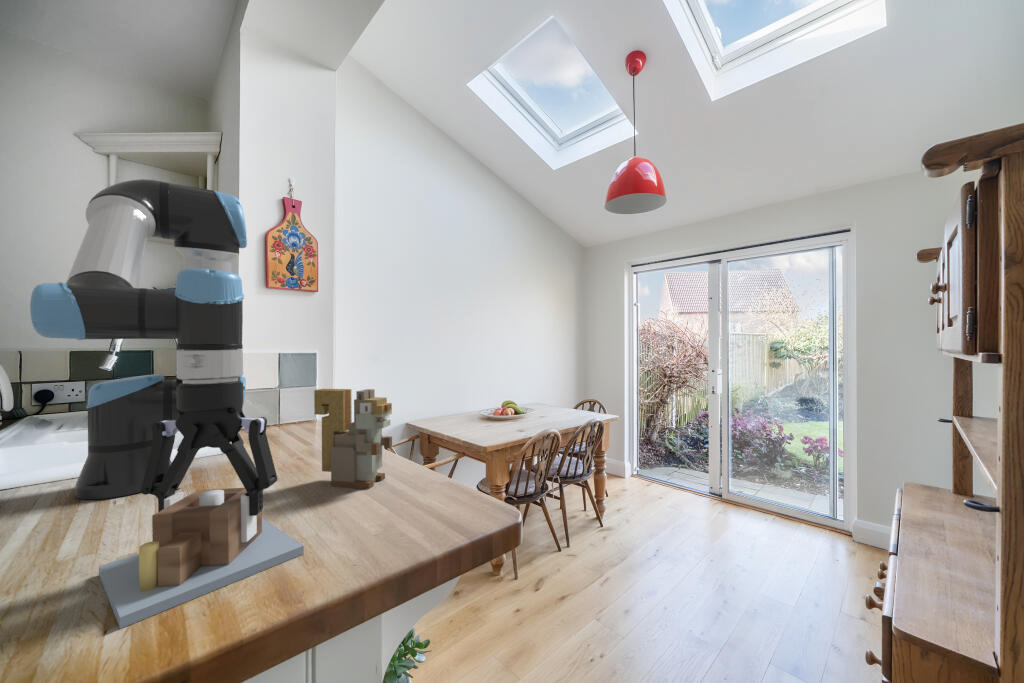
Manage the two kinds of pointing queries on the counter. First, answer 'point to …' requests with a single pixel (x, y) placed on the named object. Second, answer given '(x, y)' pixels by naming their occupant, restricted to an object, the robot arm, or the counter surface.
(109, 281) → the robot arm
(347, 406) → the toy
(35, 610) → the counter surface
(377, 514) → the counter surface
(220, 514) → the tabbed square frame
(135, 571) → the post board
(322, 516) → the counter surface
